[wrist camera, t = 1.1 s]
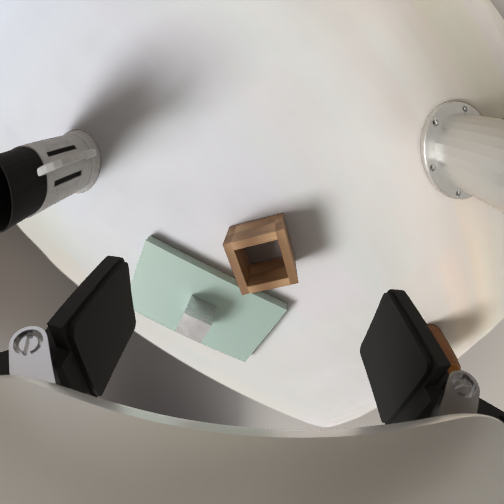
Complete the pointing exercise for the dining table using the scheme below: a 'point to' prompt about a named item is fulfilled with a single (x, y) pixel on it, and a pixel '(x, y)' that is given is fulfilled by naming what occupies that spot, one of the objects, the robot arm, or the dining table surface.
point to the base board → (207, 288)
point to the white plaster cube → (196, 318)
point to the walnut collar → (264, 272)
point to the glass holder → (45, 174)
